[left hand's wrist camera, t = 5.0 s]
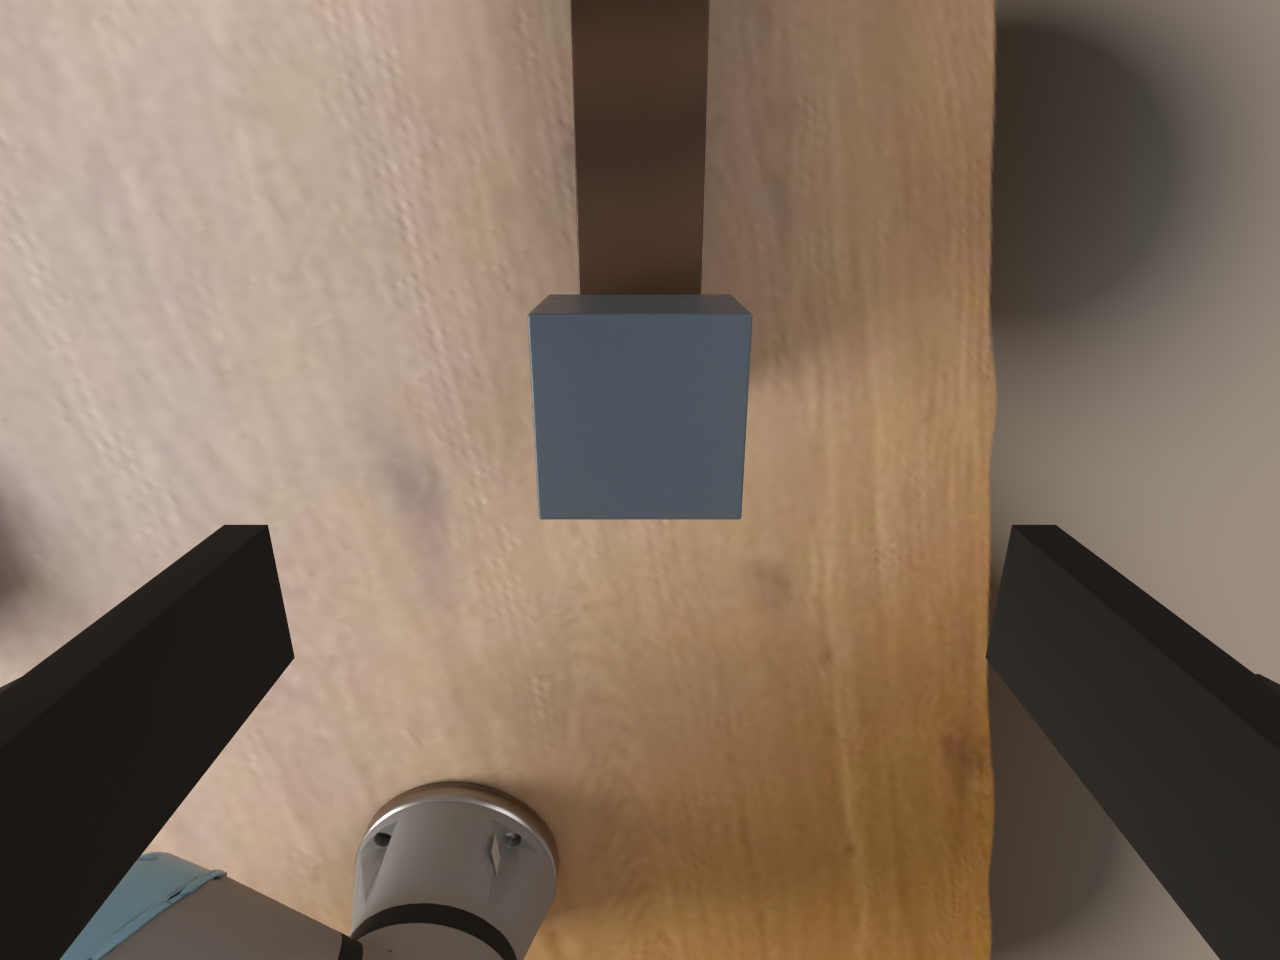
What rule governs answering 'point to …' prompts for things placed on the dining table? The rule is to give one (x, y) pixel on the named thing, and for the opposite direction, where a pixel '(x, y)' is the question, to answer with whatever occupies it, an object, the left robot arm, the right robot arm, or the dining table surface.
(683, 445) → the slate blue cube
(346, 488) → the dining table surface
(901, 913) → the dining table surface
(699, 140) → the stand
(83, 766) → the left robot arm
